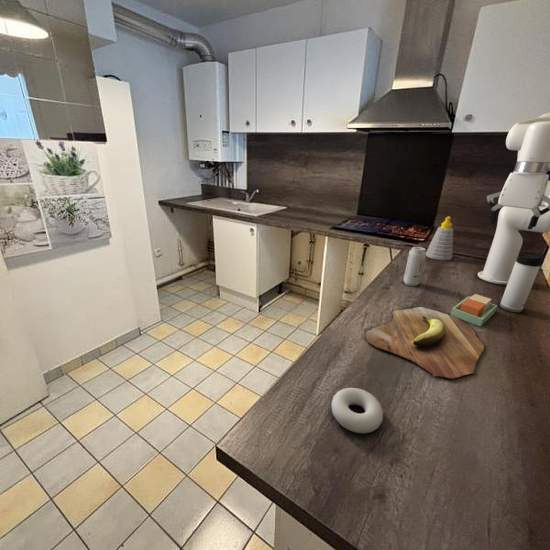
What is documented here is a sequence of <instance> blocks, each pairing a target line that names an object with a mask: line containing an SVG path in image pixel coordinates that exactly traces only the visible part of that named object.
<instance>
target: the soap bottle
mask: <svg viewBox="0 0 550 550" xmlns="http://www.w3.org/2000/svg"><path fill="white" fill-rule="evenodd" d="M451 219H452V217H451V216H449V215H448V216H446V217H445V220H443V222H441V225H440V226H438V227H437V228H436V231H435V233H434V235H433V238H432V239H431V241H430V242H429V245H428V247H427V249H426V250H425V251H426V257H427V258H429V259H431V260H437V261H444V262H445V261H451V260H452V259H453V250H454V249H453V247H454V245H453V244H454V229H453V228H452V225H453V223H452V222H451Z"/></svg>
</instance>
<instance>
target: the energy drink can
mask: <svg viewBox="0 0 550 550" xmlns="http://www.w3.org/2000/svg"><path fill="white" fill-rule="evenodd" d="M426 251H427V249H426V248H424V247H422V246H412V247H411V249H410V250H409V252H408V256H407V261H406V267H405V271H404V275H403V283H404V284H405V285H407V286H410V287H416V286H418V285H419V284H420V282H421V278H422V275H423V269H424V266H425V262H426V257H427V256H426Z"/></svg>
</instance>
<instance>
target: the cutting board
mask: <svg viewBox="0 0 550 550" xmlns="http://www.w3.org/2000/svg"><path fill="white" fill-rule="evenodd" d="M392 317H393V318H392V319H391V320H389V321H387V322H385V323H383V324H380V325H378V326H375V327H371V328H369V329H367V330H366V332H365V339H366V341H367V342H368V343H369V344H371V345H372V346H374V347H376V348H377V349H382V350H384V351H387V352H390V353H392V354H395V355H398V356H400V357H402V358H404V359H407V360H409V361H411V362H413V363H415V364H416V365H418V366H419V367H421V368H422V369H424V370H426V371H428V372H429V373H430V374H431V375H432V376H433V378H434V377H442V378H447V379H452V380H453V379H456V378H460V377H462V376H463V377H464V376H466V375H470V374H475V368H476V364H477V362H478V360H479V358H480V356H481V355H482V354H483V352H484V349H485V344H484V343H483V342H482V340H480V338H479V337H478V336H477V334H476V332H475V331H474V329H473V328H472V327H471V326H469V325H468V324H467V323H466V321H464V320H462V319H459V318H457V317H454V316H451V315H449V314H447V313H443V312H441V311H438V310H435V309H431V308H426V307H423V306H417V307H411V308H406V309H395V310H393V311H392Z"/></svg>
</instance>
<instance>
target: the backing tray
mask: <svg viewBox="0 0 550 550" xmlns="http://www.w3.org/2000/svg"><path fill="white" fill-rule="evenodd" d="M470 297H471V296H470V295H468V296H467V297H465V298H464V299H463V300H461V301H459V303H457V304H456V305H455V306H453V307H452V308H451V311H450V316H453V317H455V318H458V319H460V320H462V321H463V322H467V323H470V324H473V325H475V326H477V327H482V326H483V325H484V324H485V323H487V321H488V320H489V319H490V318H491V317H492V316H493V315H494V314H495V313H496V312H497V308H498V304H494V303H492V302H491V303H490V306H489V308H488V310H487V311H486V312H485V313H484V314H482V316H480V317H477V316H474V315H471V314H469V313H466V312H463V311H460V308H461V305H462V303H464V302H465V301H466V300H468V299H469V298H470Z"/></svg>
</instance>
